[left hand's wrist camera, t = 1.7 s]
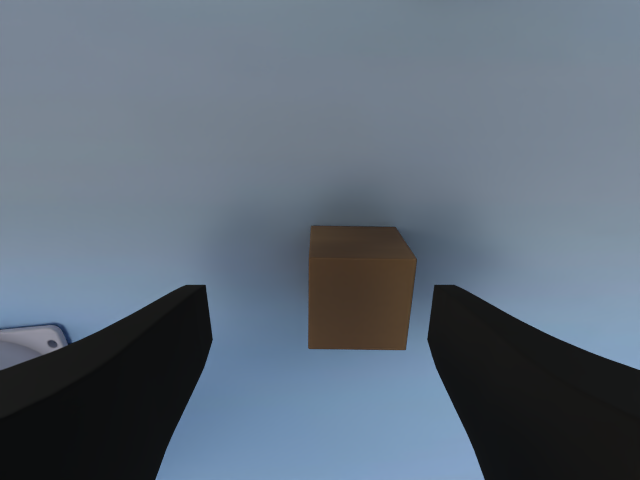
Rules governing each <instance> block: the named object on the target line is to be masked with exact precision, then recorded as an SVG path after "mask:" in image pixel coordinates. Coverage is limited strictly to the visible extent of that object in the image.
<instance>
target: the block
mask: <svg viewBox="0 0 640 480" xmlns="http://www.w3.org/2000/svg"><path fill="white" fill-rule="evenodd" d="M416 264H417V259H416V257H415V256H414V254H413V253H412V251H411V250H410V248H409V247H408V245H407V244H406V242H405V241H404V239H403V238H402V236H401V234H400V233H399V231H398V230H397V228H396V227H361V226H311V235H310V249H309V315H308V348H309V349H355V350H406V344H407V336H408V328H409V320H410V312H411V304H412V296H413V288H414V280H415V272H416Z"/></svg>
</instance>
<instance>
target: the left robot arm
mask: <svg viewBox="0 0 640 480" xmlns="http://www.w3.org/2000/svg"><path fill="white" fill-rule="evenodd" d="M212 340H213V338H212V331H211V323H210V315H209V308H208V300H207V292H206V285H185V286H182V287H180V288H178V289H176V290H174V291H172V292H170V293H169V294H167V295H165V296H163V297H161V298H160V299H158V300H156V301H154V302H153V303H151V304H149V305H147V306H146V307H144V308H142V309H140V310H138V311H137V312H135V313H133V314H131V315H129V316H127V317H125V318H123V319H121V320H120V321H118V322H116V323H114V324H112V325H110V326H108V327H106V328H104V329H102V330H100V331H98V332H96V333H94V334H92V335H90V336H87V337H85V338H83V339H81V340H79V341H76V342H74V343H72V344H69V345H68V344H67V341H66V339H65V337H64V334H63V332H62V330H61V329H60V328H59V327H57V326H54V325H46V326H35V327H24V328H14V329H3V330H0V480H155V479H156V476H157V473H158V471H159V468H160V465H161V462H162V459H163V457H164V454H165V451H166V449H167V446H168V444H169V442H170V439H171V437H172V435H173V432H174V430H175V428H176V426H177V424H178V422H179V420H180V418H181V416H182V414H183V411H184V409H185V407H186V405H187V403H188V401H189V399H190V397H191V395H192V393H193V390H194V388H195V386H196V384H197V382H198V380H199V378H200V375H201V373H202V371H203V369H204V366H205V363H206V360H207V357H208V354H209V350H210V347H211V344H212ZM427 340H428V343H429V347H430V350H431V354H432V357H433V360H434V363H435V366H436V369H437V371H438V373H439V375H440V378H441V380H442V382H443V384H444V386H445V388H446V390H447V393H448V395H449V397H450V399H451V401H452V403H453V405H454V407H455V409H456V411H457V414H458V416H459V418H460V420H461V422H462V424H463V426H464V428H465V430H466V432H467V435H468V437H469V439H470V442H471V444H472V446H473V449H474V451H475V454H476V457H477V459H478V462H479V465H480V468H481V471H482V473H483V476H484V479H485V480H640V370H638V369H635V368H632V367H629V366H626V365H624V364H621V363H618V362H615V361H612V360H609V359H606V358H604V357H601V356H598V355H596V354H593V353H591V352H588V351H586V350H583V349H581V348H578V347H576V346H574V345H571V344H569V343H567V342H564V341H562V340H559V339H557V338H555V337H553V336H551V335H548V334H546V333H544V332H542V331H540V330H538V329H536V328H534V327H532V326H530V325H528V324H526V323H524V322H522V321H520V320H518V319H517V318H515V317H513V316H511V315H509V314H507V313H505V312H504V311H502V310H500V309H498V308H496V307H495V306H493V305H491V304H489V303H488V302H486V301H484V300H482V299H481V298H479V297H477V296H475V295H473V294H472V293H470V292H468V291H466V290H464V289H462V288H460V287H458V286H455V285H434V292H433V300H432V308H431V315H430V323H429V331H428V339H427ZM54 341H55V342H56V343H55V342H54Z"/></svg>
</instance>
